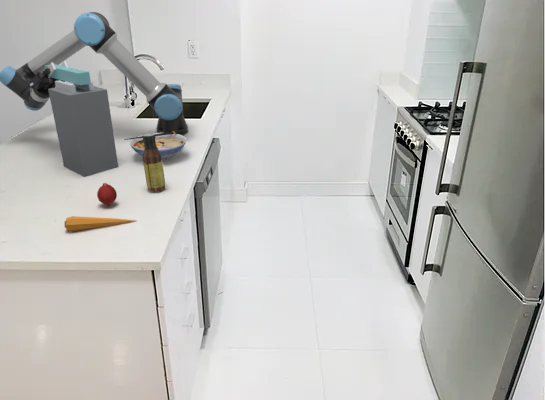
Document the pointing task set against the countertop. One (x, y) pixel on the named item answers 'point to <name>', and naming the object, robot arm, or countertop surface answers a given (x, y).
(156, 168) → the sauce bottle
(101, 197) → the onion
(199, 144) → the countertop surface
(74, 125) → the block
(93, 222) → the carrot
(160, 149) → the ramen bowl
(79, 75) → the teal rectangular bar
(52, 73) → the robot arm
